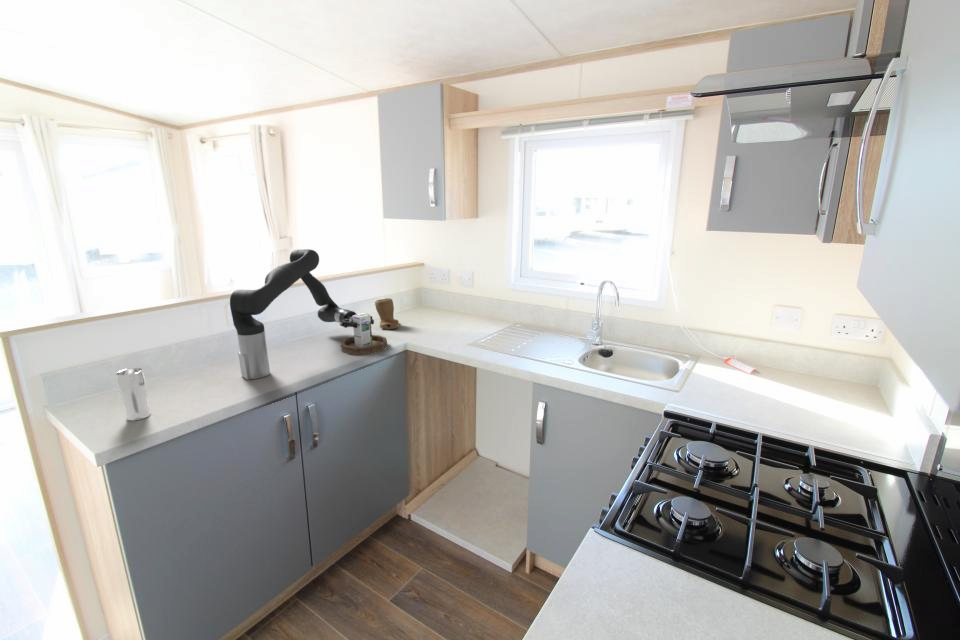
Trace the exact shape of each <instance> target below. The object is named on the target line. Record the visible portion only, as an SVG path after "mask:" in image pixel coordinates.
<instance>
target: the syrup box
mask: <svg viewBox="0 0 960 640" xmlns="http://www.w3.org/2000/svg"><path fill="white" fill-rule="evenodd" d="M356 314H357V313H356ZM370 316H371V314H369V313H364V312H361V313H359V314H357V315H353V316H352V318H353V322H355V323H357V328H354V327H352V328H353V337H354V339H355V346H357V347H367V346H371V345H373V343H372V335H373V333H372V324H371V318H370Z"/></svg>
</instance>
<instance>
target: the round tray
mask: <svg viewBox="0 0 960 640" xmlns="http://www.w3.org/2000/svg"><path fill="white" fill-rule="evenodd" d="M372 343H373V345H371V346H367V347H357V346H355V339H354V336H351V337H347V338H345V339H344V340H341V343H340V346H341V347H340V348H341V352H342V351H343V352H342V353H344V352H345V353H344V354H347V355H352V354H354V356H363V354H366V355H372V354H371V353H374V354H376V353H375V352H377V353H380V352H379V351H381V352H383V351H385V350H386V349H387V348H388V340H387V337H385V336H382V335H378V334H372ZM386 347H387V348H386ZM385 348H386V349H385Z"/></svg>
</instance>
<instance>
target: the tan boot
mask: <svg viewBox="0 0 960 640" xmlns="http://www.w3.org/2000/svg"><path fill="white" fill-rule="evenodd" d="M374 306H375V309H376V312H377V314H378V316H379V318H380V323H379V327H380V328H382V329H384V330H394V329H396V328H398V327H399V319H395V317H394V311H395V306H394V302H393V299H392V298H390V297H389V298H388V297H386V298H382V299H377V300H375V301H374Z"/></svg>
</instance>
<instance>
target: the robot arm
mask: <svg viewBox="0 0 960 640" xmlns="http://www.w3.org/2000/svg"><path fill="white" fill-rule="evenodd" d="M319 263H320V256H319V254H318V252H317V251H316V250H314V249H308V248H306V249H294V250H292V251H291V252H290V254H289V262H287V263H284V264H281V265H278V266H276V267H275V268H273V269H272V270H270V271H269V272H268V273H267V274H266V276H265V279H264V285H263V286H261V287H260V288H258V289H235V290H234V291H233V292H232V293H231V295H230V297H229V306H230V313H231V318H232V322H233V326H234V328H235V330H236V333H237V340H238V348H239V352H237V354H238V361H239V367H240V373H241V377H243V378H244V379H246V380H247V381H249V380H256V379H257V380H259V379H262V378H265V377H267V376H269V375H270V373H271V371H270V369H271V368H270V362H269V361H270V360H269V355H268V353H269V352H268V348H267V347H268V345H267V338H266V331H265V325H264V323H263V322H262V321H259V320H257V319H256V318H255V317H253V316H257V315H260V314H263V313H264V311H265V310H266V309H267V308H268V307H269V306H270V305H271V304H272V303H273V302H274V301H275V300H276V299H277V298H278V297H279V296H280V295H282V294H283V293H284V292H285V291H287V290H288V289H289V288H290V287H291V286H293V285H294V284H295V283H296V282H298V281H299V280H301V281H302V282H303V283H304V285H305V286H306V288H307V289H308V290H309V293H310V294H311V295H312V298H313V299H314V302H315V304H316V305H317V306H320V307H321V308H320V309H319V310H318V311H317V318H318V319H319V320H320V321H322V322H324V323H338V324H339V326H340V327H343V328H353V327H354V328H357V323H355V322H353V318H352V316H353V315H357V313H356V311H353V310H350V309H346V308H342V307H339V306H338V304H337V303H336V302H335V301H334V300H333V299H332V298H331V296H330V294H329V292H328V290H327V288H326V286H325V285H324V284H323V283H322V282H321V281H320V280H319V279H318V278H316V277H315V276H314V275H313V274H312V273H311V272H313V271H314V270H315V269H316V268H317V267H318V266H319ZM370 318H371V325H374V324H375V320H374V319H373V316H372V315H370Z"/></svg>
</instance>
